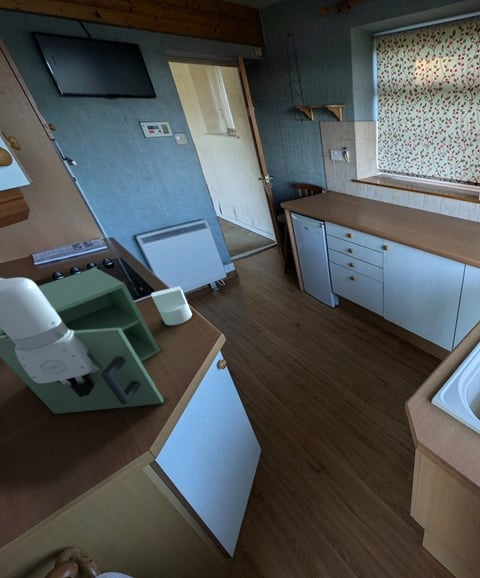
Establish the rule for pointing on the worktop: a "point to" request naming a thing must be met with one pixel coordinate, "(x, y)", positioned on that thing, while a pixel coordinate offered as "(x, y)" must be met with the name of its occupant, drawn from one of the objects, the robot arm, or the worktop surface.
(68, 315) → the cupboard
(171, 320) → the base with upright slab
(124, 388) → the cupboard door
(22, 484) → the worktop surface
